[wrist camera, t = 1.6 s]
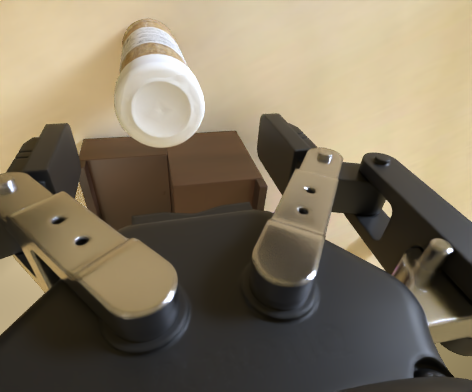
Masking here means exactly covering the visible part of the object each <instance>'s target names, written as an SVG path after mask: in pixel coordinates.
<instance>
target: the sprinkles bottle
mask: <svg viewBox="0 0 472 392" xmlns="http://www.w3.org/2000/svg"><path fill="white" fill-rule="evenodd" d="M122 45H123V46H122V55H121V63H120V72H119V77H118V79H117V82H116V86H115V94H114V106H115V112H116V116H117V118H118V121H119V123H120V124H121V126H122V127H123V129H124V130H125V131H126V132H127V133H128V134H129V135H130V136H131V137H132V138H134V139H135V140H137V141H138V142H140V143H142V144H145V145H148V146H151V147H158V148H165V147H172V146H176V145H179V144H181V143H183V142H185V141H186V140H188V139H189V138H190V137H192V135H194V133H195V132H196V131H197V130H198V128H199V127H200V125H201V122H202V120H203V116H204V111H205V103H204V97H203V93H202V90H201V88H200V86H199V83H198V81H197V79H196V77H195V76H194V74H193V73H192V72H191V70H190V69H189V68H188V66H187V63H186V61H185V59H184V57H183V55H182V53H181V51H180V49H179V47H178V45H177V42H176V39H175V37H174V36H173V34H172V33H171V31H170V30H169V28H167V27H166V26H165V25H163V24H162V23H160V22H158V21H156V20H152V19H143V20H139V21H136V22H135V23H133V24H132V25H130V26H129V27H128V29H127V31H126V32H125V34H124V37H123V41H122Z"/></svg>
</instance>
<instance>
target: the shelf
mask: <svg viewBox="0 0 472 392" xmlns="http://www.w3.org/2000/svg"><path fill="white" fill-rule="evenodd" d="M79 159H80V164H81V175H80V179H79V182H80V185H81V189H82V192H83V195H84V199H85V202H86V205H87V209H88V210H90V211H91V212H92V213H94V214H95V215H96V216H98V217H99V218H100V219H102V220H103V221H104V222H106V223H107V224H108V225H110V226H111V227H112V228H114V229H115V230H116V231H117V230H119V229H121V228H123V227H126V226H129V225H132V216H136V215H144V214H152V213H161V212H168V213H191V214H193V213H198V212H202V211H205V210H208V209H211V208H215V207H218V206H221V205H227V204H235V203H243V202H250V204H251V206H252V208H253V209H256V210H263V211H264V205H265V199H266V193H267V185H266V183H265V181H264V179H263V177H262V176H261V174H260V172H259V170H258V169H257V167H256V165H255V163H254V162H253V160H252V158H251V156H250V155H249V153H248V151H247V150H246V148H245V146H244V144H243V143H242V141H241V139H240V137H239V136H238V134H237V132H236V131H226V132H208V133H194V135H192V137H190V138H189V139H188V140H186V141H185V142H183V143H181V144H179V145H176V146H172V147H165V148H158V147H151V146H148V145H145V144H142V143H140V142H138V141H137V140H135V139H134V138H132V137H117V138H99V139H84V140H83V143H82V147H81V150H80V154H79Z"/></svg>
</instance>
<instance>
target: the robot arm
mask: <svg viewBox="0 0 472 392" xmlns="http://www.w3.org/2000/svg"><path fill="white" fill-rule="evenodd" d="M257 153H258V157H259V159H260V161H261V162H262V164H263V166H264V167H265V169H266V170H267V172H268V173H269V175H270V177H271V178H272V180H273V181H274V183H275V185H276V186H277V188H278V189H279V191H280V192H281V194H282V198H281V200H280V202H279V204H278V206H277V208H276V210H275V212H274V213H271V212H268V211H263V210H256V209H253V208H252V206H251V204H250V202H243V203H235V204H227V205H221V206H218V207H215V208H211V209H208V210H205V211H202V212H198V213H193V214H191V213H168V212H161V213H152V214H144V215H136V216H132V225H129V226H126V227H123V228H121V229H119V230H117V231H116V230H115V229H114V228H112V227H111V226H110V225H108V224H107V223H106V222H104V221H103V220H102V219H100V218H99V217H98V216H96V215H95V214H94V213H92V212H91V211H90V210H88V209H87V208H86V207H84V206H83V205H82V204H81V203H79V202H78V201H77V200H75V195H76V191H77V187H78V183H79V179H80V175H81V164H80V159H79V155H78V152H77V148H76V145H75V141H74V138H73V135H72V131H71V128H70V126H69V124H67V123H64V124H46V125H45V127H44V129H43V131H42V133H41V135H40V137H34V138H32V139H30V140H29V141H27V142H26V143H24V144H23V145H22V147H21V149H20V150H19V153H18V154H17V155H16V157H15V158H16V159H14V160H13V162H12V164H11V165H10V167H9V169H8V170H7V172H6V173H3V174H0V259H2V258H5V257H8V256H11V255H13V257H14V258H15V259H16V261H17V262H18V263H19V264H20V265H21V266H22V267H23V268H24V269H25V271H26V272H27V273H28V274H29V275H30V276H31V277H32V278H33V279H34V281H35V282H36V283H37V284H38V285H39V286H40V287H41V289H42V290H43V291H44V293H45V294H44V295H43V296H42V297H41V298H39V299H38V300H37V301H36V302H35V303H34V304H33V305H32V306H31V307H30V308H29V309H28V310H27V311H26V312H25V313H24V314H22V315H21V316H20V317H19V318H18V319H17V320H16V321H15V322H14V323H13V324H12V325H11V326H10V327H9V328H8V329H7V330H5V331H4V332H3V333H2V334H1V335H0V392H472V380H468V379H462V378H454V376H453V375H452V374H451V373H450V372H449V370H448V369H447V367H446V366H445V364H444V362H443V360H442V359H441V357H440V355H439V353H438V351H437V349H436V347H435V344H436V343H440V344H441V345H443V346H444V347H445V348H447V349H448V350H450V351H452V352H454V353H456V354H459V355H463V356H472V222H471V221H470V220H468V219H467V218H466V217H465V216H464V215H462V214H461V213H460V212H459V211H458V210H456V209H455V208H454V207H453V206H452V205H450V204H449V203H448V202H447V201H446V200H444V199H443V198H442V197H441V196H439V195H438V194H437V193H436V192H435V191H433V190H432V189H431V188H430V187H429V186H427V185H426V184H425V183H424V182H423V181H421V180H420V179H419V178H418V177H417V176H415V175H414V174H413V173H412V172H411V171H409V170H408V169H407V168H406V167H405V166H403V165H402V164H401V163H400V162H399V161H397V160H396V159H394V158H393V157H391V156H388V155H385V154H381V153H367V154H365V155H364V156H363V159H362V162H361V164H357V163H346V162H343V157H342V156H341V155H340V154H339V153H338V152H336V151H334V150H331V149H327V148H317V147H316V146H315V144H314V143H313V142H312V141H311V140H310V139H309V138H307V136H306V135H305V134H303V132H302V131H301V130H300V129H299V128H298V127H296V126H294V125H292V124H290V123H287V122H286V121H285V120H284V119H283V118H282V117H281V115H280V114H263V115H262V116H261V118H260V125H259V134H258V143H257ZM385 200H387V201H388V202H389V203H390V204H391V207H392V216H391V219H390V218H389V217H388V216H387V215H386V214H385V212H384V211H383V210H382V207H383V205H384V203H385ZM331 212H337V213H344V214H345V216H346V218H347V219H348V220H349V222H350V223H351V224H352V226H353V227H354V229H355V230H356V231H357V233H358V234H359V235H360V237H361V238H362V239H363V241H364V242H365V244H366V245H367V246H368V248H369V249H370V250H371V252H372V253H373V254H374V256H375V257H376V258H377V260H378V261H379V263H380V264H381V265H382V267H383V268H384V269H385V271H384V270H382V269H380V268H378V267H376V266H374V265H372V264H371V263H369V262H367V261H365V260H363V259H361V258H359V257H357V256H355V255H354V254H352V253H350V252H348V251H346V250H344V249H342V248H340V247H338V246H337V245H335V244H333V243H331V242H329V241H327V240H325V237H326V236H325V235H326V231H327V226H328V222H329V218H330V214H331Z"/></svg>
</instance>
